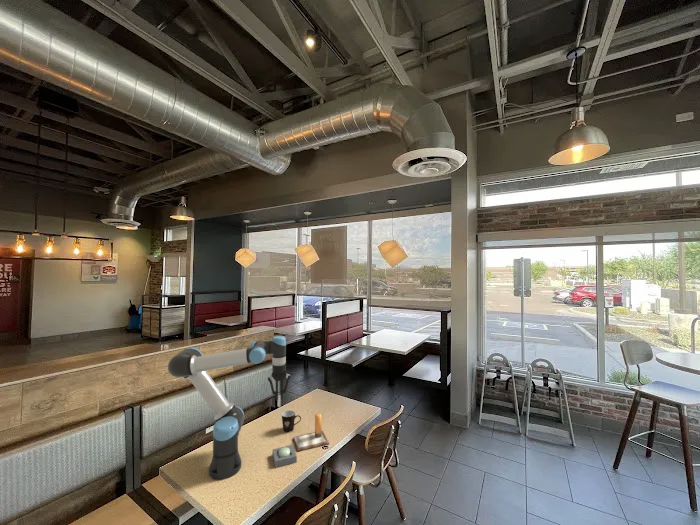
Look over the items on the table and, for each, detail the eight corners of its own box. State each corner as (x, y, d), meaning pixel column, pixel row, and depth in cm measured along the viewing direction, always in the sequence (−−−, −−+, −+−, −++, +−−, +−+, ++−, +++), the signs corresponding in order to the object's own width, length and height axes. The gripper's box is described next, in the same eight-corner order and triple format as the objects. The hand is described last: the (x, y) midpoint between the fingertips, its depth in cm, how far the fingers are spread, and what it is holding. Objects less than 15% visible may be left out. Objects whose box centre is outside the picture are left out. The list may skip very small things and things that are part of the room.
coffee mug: (278, 431, 181) (278, 414, 181) (287, 424, 188) (287, 409, 189) (293, 435, 175) (293, 419, 176) (301, 429, 183) (301, 413, 183)
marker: (315, 438, 170) (316, 417, 171) (313, 434, 174) (314, 414, 174) (322, 436, 172) (322, 416, 172) (320, 433, 176) (320, 413, 176)
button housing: (275, 467, 147) (275, 461, 147) (272, 455, 157) (272, 449, 157) (296, 462, 151) (296, 456, 151) (292, 450, 161) (292, 444, 161)
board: (298, 451, 159) (298, 448, 160) (293, 438, 172) (293, 435, 173) (329, 444, 166) (329, 441, 166) (322, 432, 179) (322, 429, 179)
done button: (279, 461, 150) (279, 455, 150) (277, 454, 155) (277, 448, 156) (291, 458, 152) (291, 452, 152) (289, 452, 158) (289, 446, 158)
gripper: (267, 367, 160) (267, 410, 159) (291, 364, 164) (291, 406, 163) (267, 363, 167) (266, 404, 166) (289, 360, 171) (289, 401, 170)
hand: (279, 405), depth 164 cm, fingers closed
